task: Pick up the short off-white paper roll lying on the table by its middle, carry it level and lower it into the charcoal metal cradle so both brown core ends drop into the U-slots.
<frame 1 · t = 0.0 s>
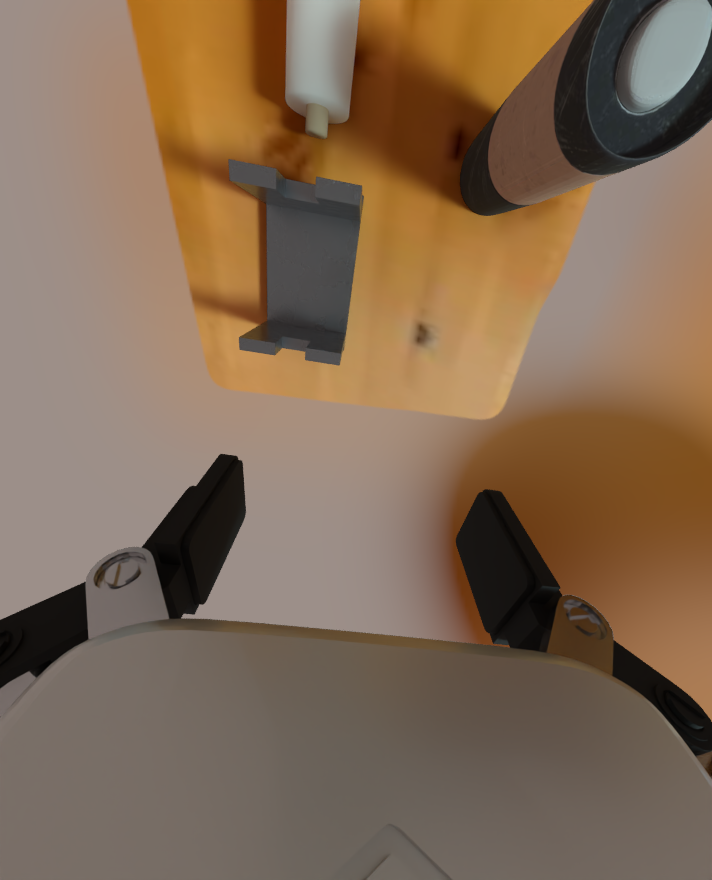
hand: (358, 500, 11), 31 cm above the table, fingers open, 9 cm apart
roll holder: (311, 274, 34), on the table
paper roll: (326, 42, 25), on the table
travel mug: (493, 173, 30), on the table
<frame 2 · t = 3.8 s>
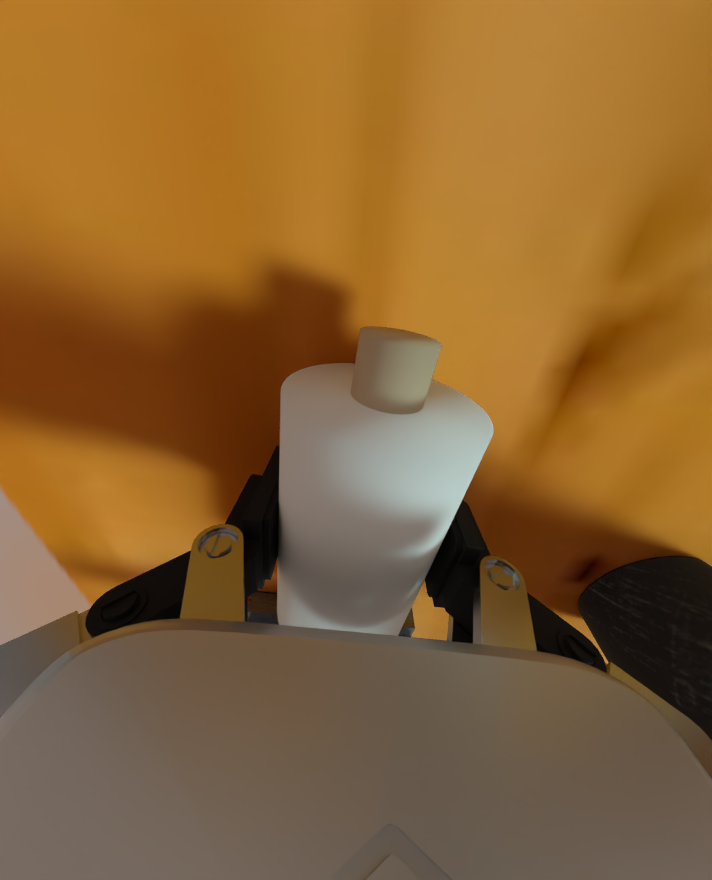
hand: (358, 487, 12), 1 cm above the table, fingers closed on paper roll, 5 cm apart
roll holder: (322, 656, 22), on the table
paper roll: (358, 475, 13), on the table, touching gripper
travel mug: (639, 590, 17), on the table
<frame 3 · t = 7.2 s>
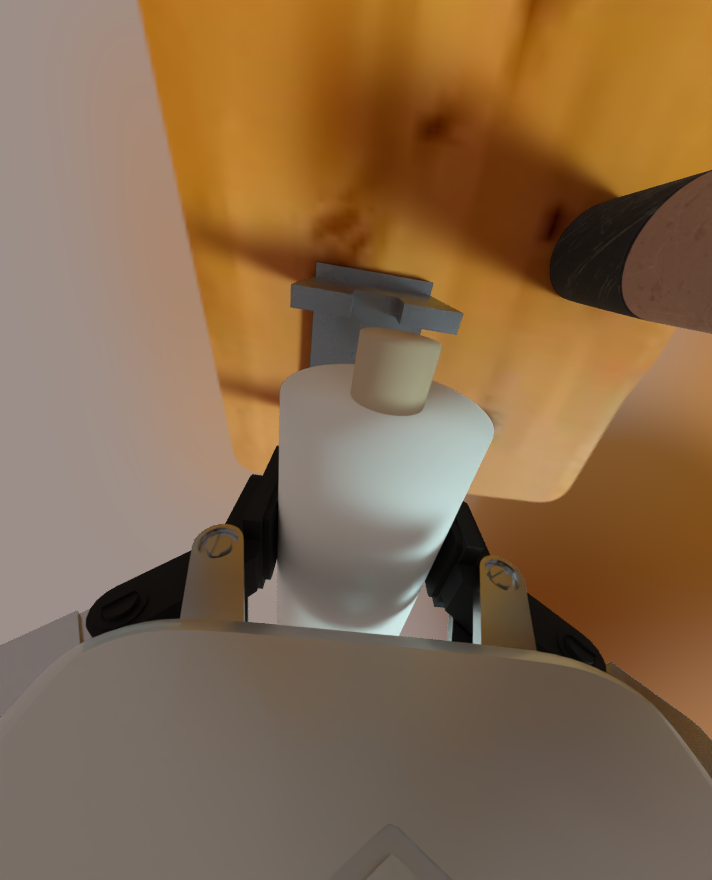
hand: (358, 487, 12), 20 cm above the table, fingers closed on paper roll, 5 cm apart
roll holder: (360, 361, 29), on the table
paper roll: (358, 476, 13), point 19 cm above the table, touching gripper
travel mug: (592, 254, 24), on the table
when the fingers open (8 cm above the table, at t = 10.5 s): paper roll drops 1 cm, resting on roll holder.
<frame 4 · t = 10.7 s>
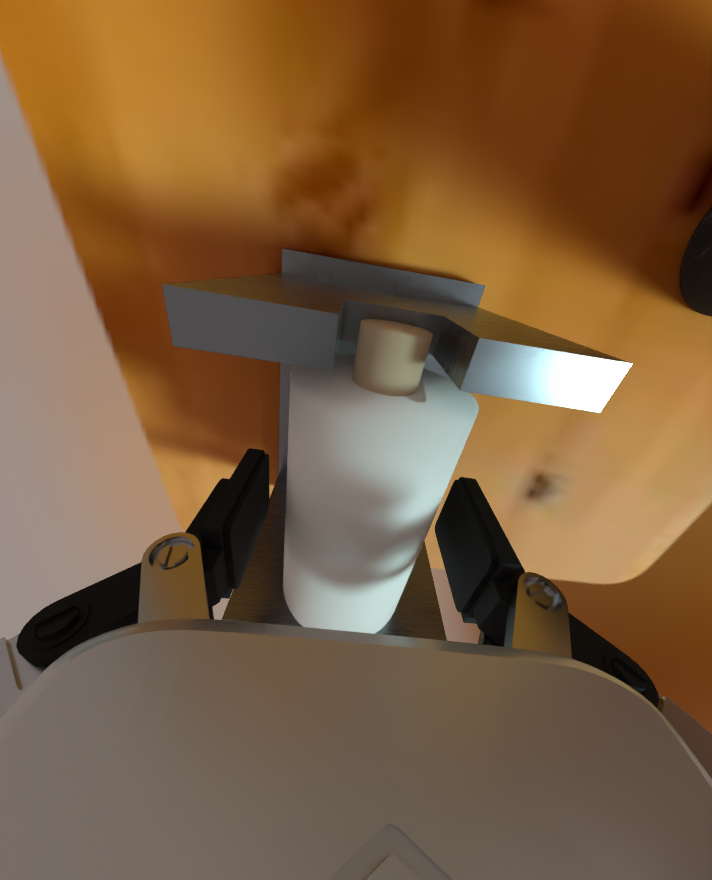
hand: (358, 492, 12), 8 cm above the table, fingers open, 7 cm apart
roll holder: (359, 406, 19), on the table
paper roll: (358, 460, 14), point 6 cm above the table, touching roll holder
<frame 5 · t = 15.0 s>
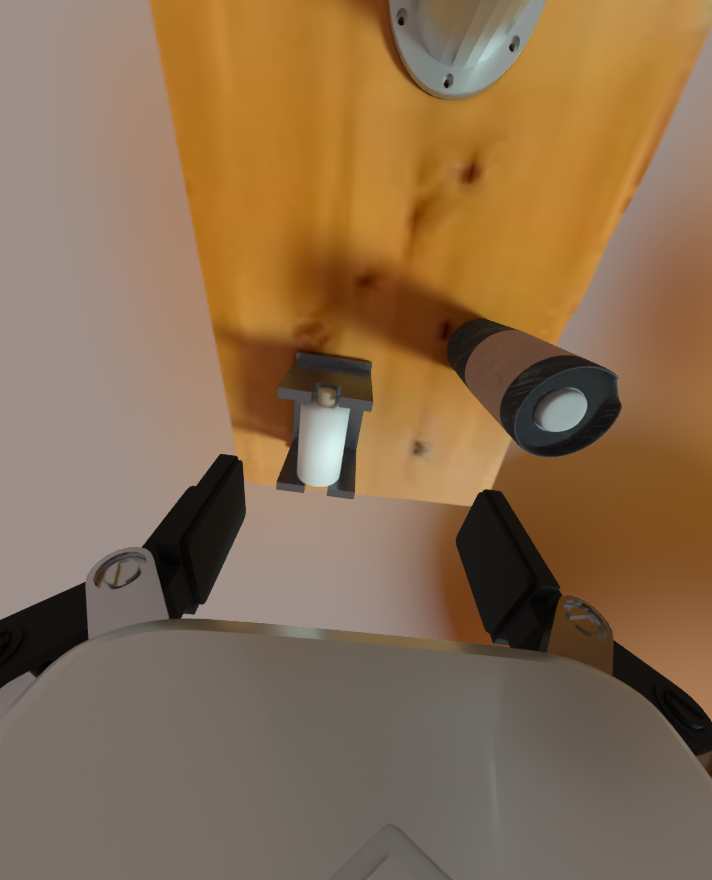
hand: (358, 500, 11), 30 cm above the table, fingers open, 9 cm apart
roll holder: (329, 409, 43), on the table
paper roll: (324, 429, 37), point 6 cm above the table, touching roll holder
travel mug: (473, 347, 38), on the table
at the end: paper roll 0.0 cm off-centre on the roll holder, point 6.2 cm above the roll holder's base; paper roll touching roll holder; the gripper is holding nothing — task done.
